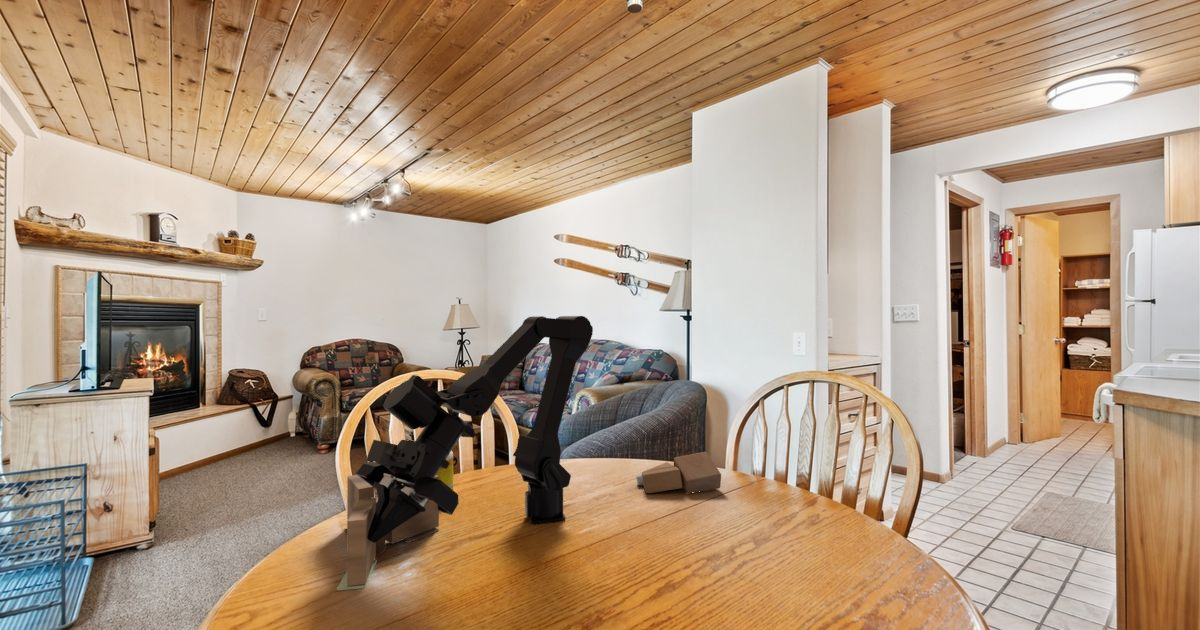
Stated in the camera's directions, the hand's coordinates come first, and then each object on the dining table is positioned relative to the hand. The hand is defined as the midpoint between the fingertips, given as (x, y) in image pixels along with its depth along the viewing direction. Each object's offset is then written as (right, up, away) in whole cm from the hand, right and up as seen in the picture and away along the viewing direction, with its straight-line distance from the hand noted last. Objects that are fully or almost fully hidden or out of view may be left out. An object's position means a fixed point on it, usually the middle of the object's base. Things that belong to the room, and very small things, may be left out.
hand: (370, 540), depth 73 cm
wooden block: (+50, -7, +42) cm, 66 cm away
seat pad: (-3, -6, +2) cm, 7 cm away
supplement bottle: (-1, -7, +34) cm, 34 cm away
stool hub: (-3, -6, +15) cm, 17 cm away
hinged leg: (-2, -5, +3) cm, 7 cm away
